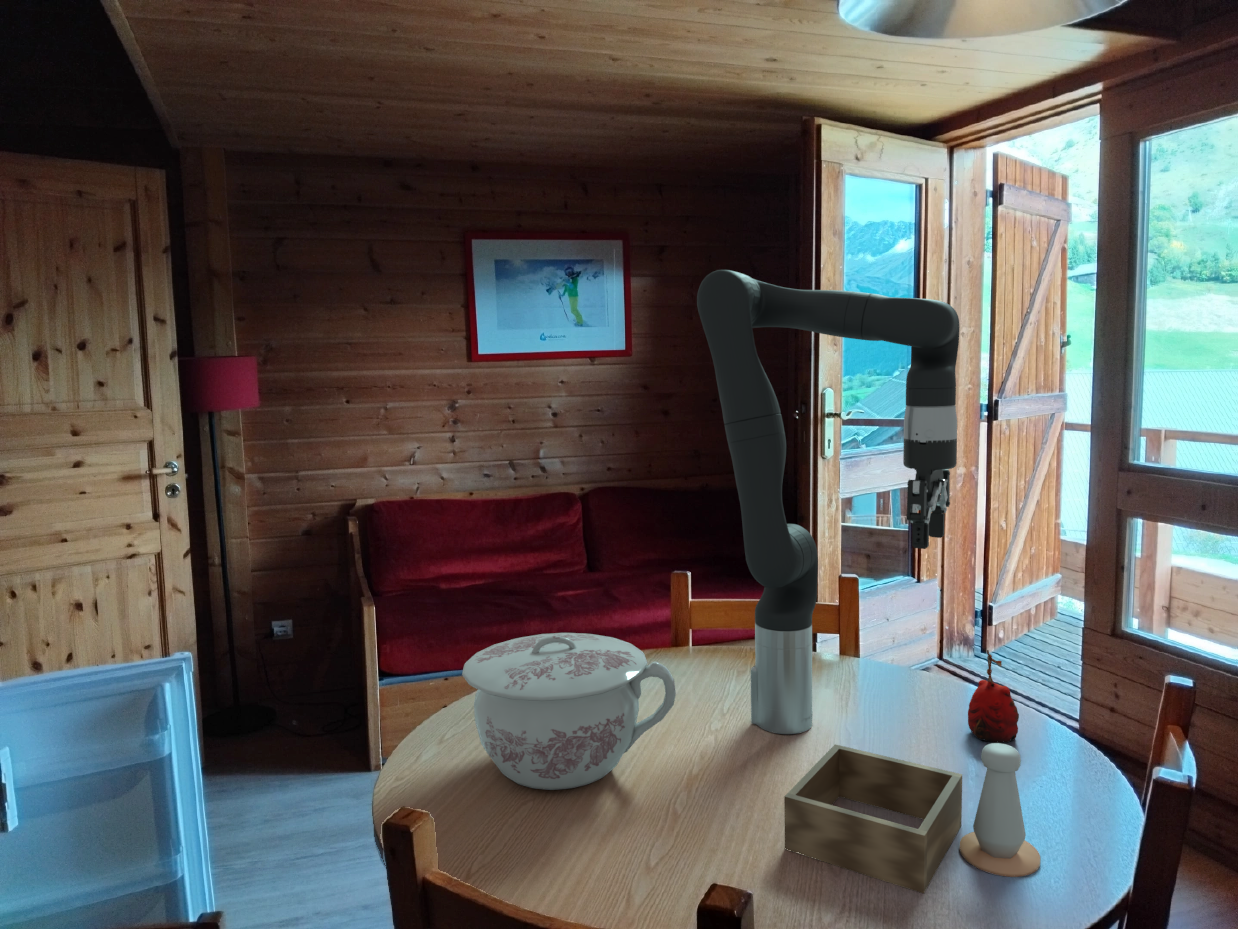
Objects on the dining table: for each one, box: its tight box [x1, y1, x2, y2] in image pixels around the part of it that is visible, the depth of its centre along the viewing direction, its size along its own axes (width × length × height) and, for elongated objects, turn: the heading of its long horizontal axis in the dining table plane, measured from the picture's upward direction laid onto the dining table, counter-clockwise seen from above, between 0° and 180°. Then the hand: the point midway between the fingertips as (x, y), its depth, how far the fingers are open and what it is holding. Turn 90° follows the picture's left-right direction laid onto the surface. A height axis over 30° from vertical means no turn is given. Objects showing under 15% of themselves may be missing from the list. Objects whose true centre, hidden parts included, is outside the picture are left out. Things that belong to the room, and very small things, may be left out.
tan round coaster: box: [959, 831, 1041, 878], centre depth 107 cm, size 9×9×1 cm
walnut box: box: [783, 743, 963, 894], centre depth 111 cm, size 17×17×7 cm
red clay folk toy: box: [967, 649, 1020, 744], centre depth 138 cm, size 8×7×15 cm
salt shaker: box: [972, 742, 1027, 859], centre depth 106 cm, size 6×6×13 cm
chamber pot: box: [461, 632, 677, 791], centre depth 131 cm, size 28×28×21 cm
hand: (928, 542), depth 133 cm, fingers open, 8 cm apart
